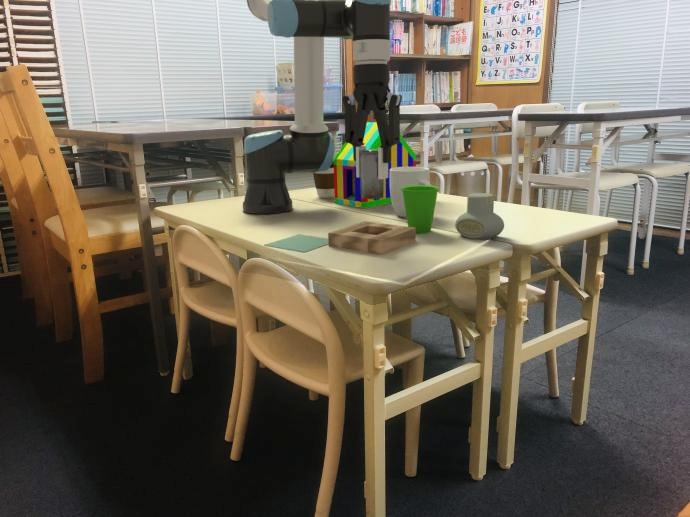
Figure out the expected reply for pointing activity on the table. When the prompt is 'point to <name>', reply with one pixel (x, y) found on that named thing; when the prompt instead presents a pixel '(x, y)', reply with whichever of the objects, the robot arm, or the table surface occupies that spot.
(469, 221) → the air freshener
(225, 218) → the table surface
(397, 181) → the mug
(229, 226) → the table surface
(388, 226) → the socket block
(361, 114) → the robot arm
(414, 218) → the cup
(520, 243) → the table surface
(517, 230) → the table surface
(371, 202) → the toy house
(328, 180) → the coffee cup
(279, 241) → the mat
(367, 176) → the gray metal can
